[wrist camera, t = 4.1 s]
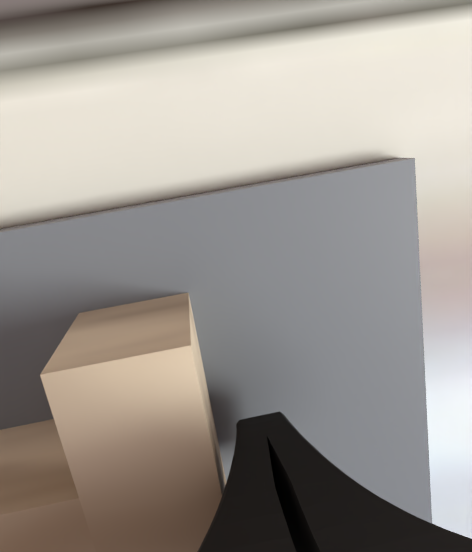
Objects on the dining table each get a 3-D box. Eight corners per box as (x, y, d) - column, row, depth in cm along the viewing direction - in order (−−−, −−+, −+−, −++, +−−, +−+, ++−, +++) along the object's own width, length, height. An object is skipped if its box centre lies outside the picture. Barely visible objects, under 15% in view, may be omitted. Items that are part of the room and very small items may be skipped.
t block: (239, 545, 15) (255, 660, 12) (-38, 609, 14) (-106, 749, 11) (188, 292, 12) (191, 345, 9) (-152, 356, 12) (-285, 438, 8)
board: (422, 538, 17) (433, 556, 16) (-314, 713, 15) (-341, 743, 14) (400, 158, 13) (414, 157, 12) (-602, 336, 11) (-660, 349, 10)
